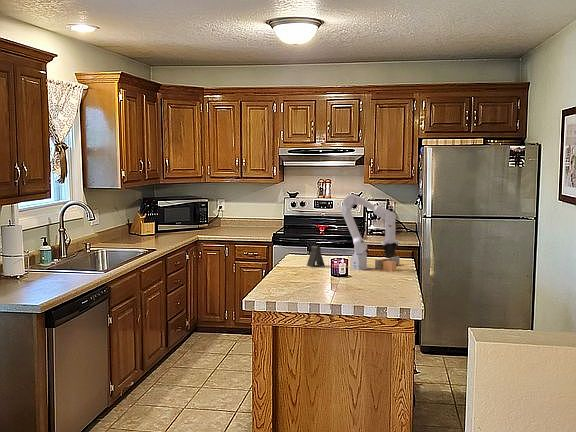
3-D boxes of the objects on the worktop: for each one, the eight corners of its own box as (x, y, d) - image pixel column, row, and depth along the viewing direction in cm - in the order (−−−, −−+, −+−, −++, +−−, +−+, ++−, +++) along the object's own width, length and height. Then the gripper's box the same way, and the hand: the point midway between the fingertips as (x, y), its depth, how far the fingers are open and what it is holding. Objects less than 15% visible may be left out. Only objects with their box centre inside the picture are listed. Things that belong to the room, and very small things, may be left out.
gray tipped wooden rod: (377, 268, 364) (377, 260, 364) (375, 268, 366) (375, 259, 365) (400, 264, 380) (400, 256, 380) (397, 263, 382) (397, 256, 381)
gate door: (378, 267, 366) (378, 260, 365) (377, 267, 366) (377, 260, 366) (392, 264, 375) (392, 258, 375) (390, 264, 376) (391, 257, 376)
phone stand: (312, 267, 367) (312, 247, 366) (306, 266, 372) (306, 246, 372) (324, 266, 372) (324, 246, 371) (319, 264, 377) (319, 245, 376)
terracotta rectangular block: (391, 271, 356) (391, 262, 355) (383, 269, 360) (383, 261, 360) (395, 270, 358) (396, 261, 358) (387, 269, 363) (387, 260, 362)
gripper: (388, 234, 350) (388, 258, 351) (403, 232, 360) (402, 256, 361) (378, 233, 355) (377, 257, 356) (393, 231, 365) (392, 254, 366)
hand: (389, 256), depth 359 cm, fingers open, 4 cm apart
